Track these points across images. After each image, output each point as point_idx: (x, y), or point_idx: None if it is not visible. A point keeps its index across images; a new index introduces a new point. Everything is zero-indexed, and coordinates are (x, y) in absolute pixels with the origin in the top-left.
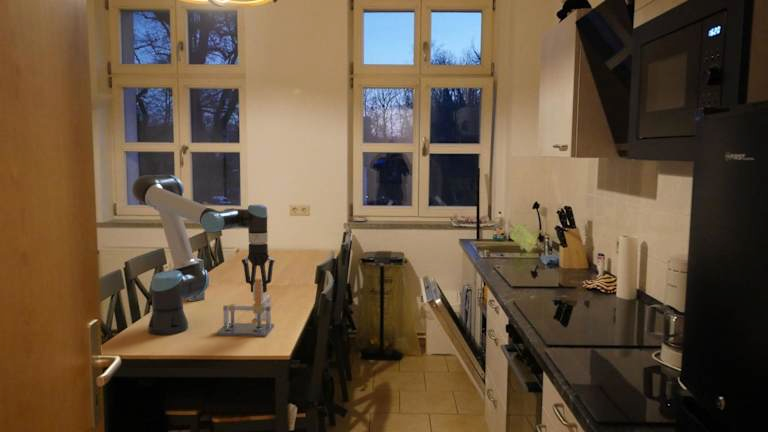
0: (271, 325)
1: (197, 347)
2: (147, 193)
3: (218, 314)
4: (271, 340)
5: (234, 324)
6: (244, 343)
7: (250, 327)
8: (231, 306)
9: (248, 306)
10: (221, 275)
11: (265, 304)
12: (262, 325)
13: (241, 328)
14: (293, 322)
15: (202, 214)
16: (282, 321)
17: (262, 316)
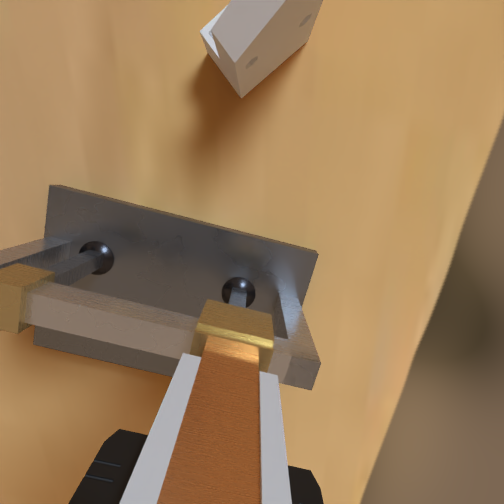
0: (303, 280)
1: (6, 460)
2: None
3: None
4: (292, 437)
5: (100, 255)
6: None
7: (192, 293)
8: (1, 326)
9: (142, 343)
10: None
11: (282, 24)
12: (255, 271)
13: (147, 302)
14: (430, 188)
15: None
16: (371, 154)
17: (255, 80)
